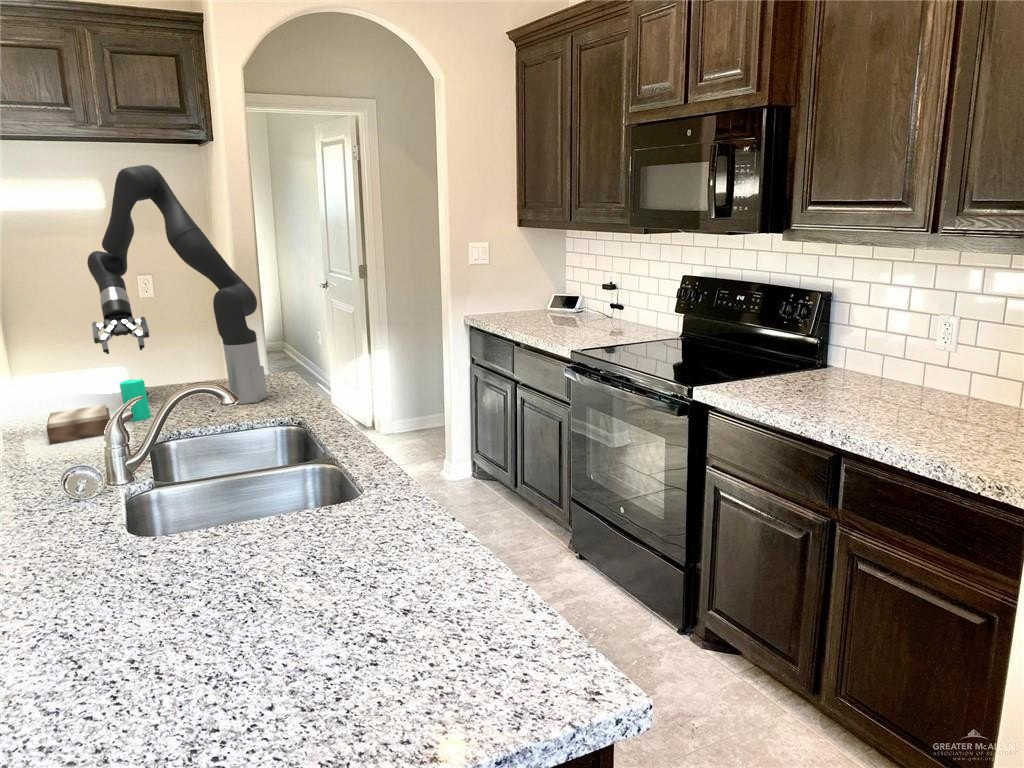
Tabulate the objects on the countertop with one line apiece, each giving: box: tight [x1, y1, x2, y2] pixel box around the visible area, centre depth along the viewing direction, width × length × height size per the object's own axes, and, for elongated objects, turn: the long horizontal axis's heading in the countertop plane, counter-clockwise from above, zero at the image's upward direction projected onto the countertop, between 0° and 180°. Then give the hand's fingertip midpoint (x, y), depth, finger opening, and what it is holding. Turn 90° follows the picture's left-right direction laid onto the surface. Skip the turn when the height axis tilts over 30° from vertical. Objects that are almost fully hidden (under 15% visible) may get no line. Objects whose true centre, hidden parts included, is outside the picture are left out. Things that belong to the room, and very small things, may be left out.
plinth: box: [46, 404, 111, 445], centre depth 196 cm, size 14×14×5 cm
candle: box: [119, 375, 151, 422], centre depth 206 cm, size 6×6×12 cm
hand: (124, 350), depth 213 cm, fingers open, 8 cm apart
